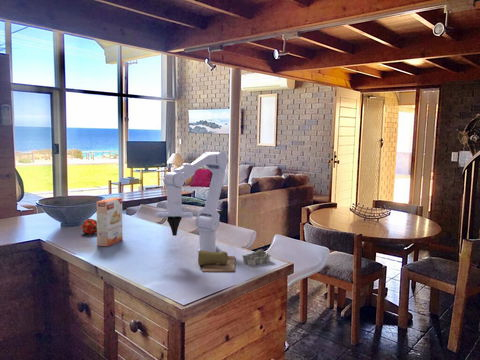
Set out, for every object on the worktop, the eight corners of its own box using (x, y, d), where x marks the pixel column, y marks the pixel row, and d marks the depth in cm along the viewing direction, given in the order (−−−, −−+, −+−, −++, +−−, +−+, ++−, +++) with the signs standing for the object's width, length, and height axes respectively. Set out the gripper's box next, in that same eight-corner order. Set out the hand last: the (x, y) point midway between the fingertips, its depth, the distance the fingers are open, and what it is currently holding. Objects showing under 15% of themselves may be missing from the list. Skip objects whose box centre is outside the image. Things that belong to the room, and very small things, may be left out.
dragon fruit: (87, 234, 207) (97, 241, 199) (74, 227, 201) (84, 234, 193) (96, 220, 209) (107, 227, 201) (84, 213, 203) (94, 220, 195)
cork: (202, 257, 156) (229, 258, 154) (199, 268, 151) (227, 269, 149) (200, 246, 152) (227, 247, 151) (197, 257, 147) (226, 258, 146)
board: (206, 257, 162) (206, 255, 162) (235, 257, 162) (235, 256, 162) (202, 271, 144) (202, 270, 144) (234, 272, 144) (234, 270, 144)
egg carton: (262, 257, 163) (263, 248, 162) (272, 262, 156) (272, 253, 156) (240, 261, 158) (240, 251, 157) (249, 266, 151) (249, 256, 151)
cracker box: (108, 247, 176) (107, 201, 174) (96, 246, 178) (95, 201, 176) (123, 239, 190) (122, 197, 188) (112, 238, 191) (111, 197, 189)
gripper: (154, 203, 152) (154, 237, 153) (191, 203, 152) (191, 237, 153) (157, 200, 159) (158, 233, 160) (193, 200, 159) (193, 233, 160)
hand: (174, 235), depth 157 cm, fingers closed
